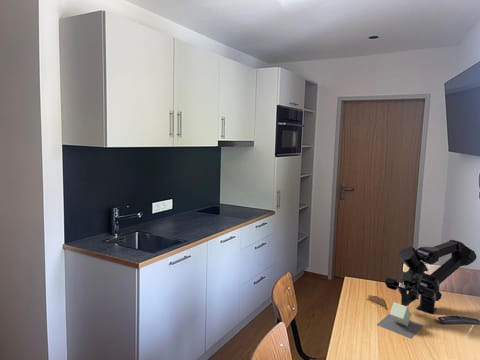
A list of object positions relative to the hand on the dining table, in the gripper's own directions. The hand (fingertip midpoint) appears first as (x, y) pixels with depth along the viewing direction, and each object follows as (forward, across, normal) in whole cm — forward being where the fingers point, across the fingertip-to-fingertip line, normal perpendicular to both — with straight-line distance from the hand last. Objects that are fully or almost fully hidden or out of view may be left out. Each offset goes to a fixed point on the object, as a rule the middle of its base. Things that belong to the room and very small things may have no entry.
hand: (402, 307), depth 137 cm
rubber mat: (+6, 0, +4) cm, 7 cm away
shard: (-3, -14, +14) cm, 20 cm away
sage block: (+3, 0, +4) cm, 5 cm away
